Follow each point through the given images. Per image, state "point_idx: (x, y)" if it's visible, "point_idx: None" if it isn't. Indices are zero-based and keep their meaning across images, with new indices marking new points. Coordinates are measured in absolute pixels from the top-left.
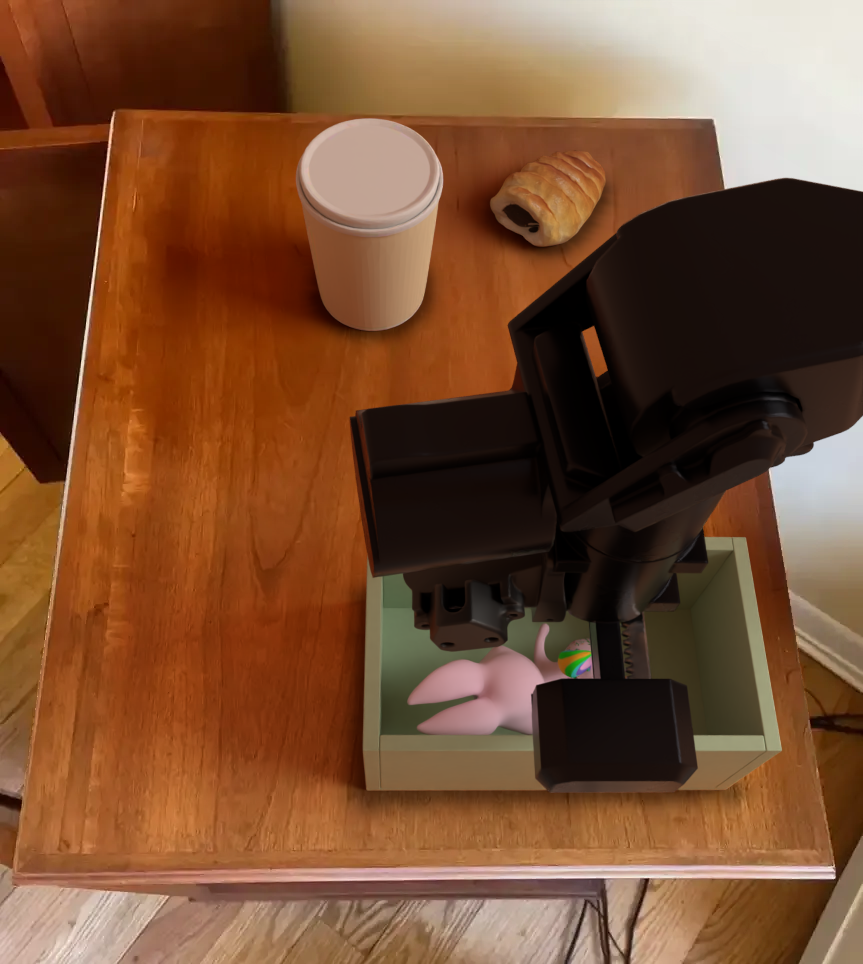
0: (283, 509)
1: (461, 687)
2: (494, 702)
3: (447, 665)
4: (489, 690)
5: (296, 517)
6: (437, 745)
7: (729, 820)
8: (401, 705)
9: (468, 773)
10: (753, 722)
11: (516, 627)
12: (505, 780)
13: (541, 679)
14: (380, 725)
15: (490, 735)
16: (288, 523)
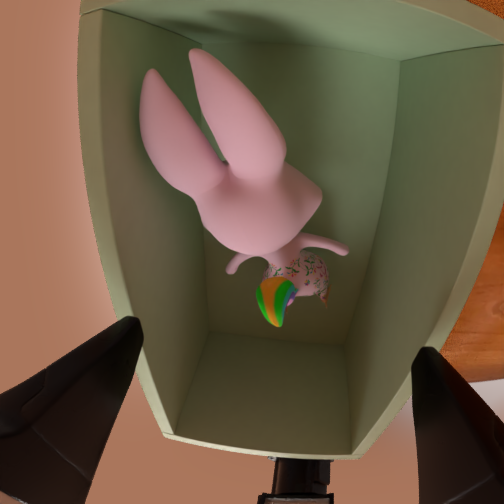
0: (496, 4)
1: (224, 143)
2: (211, 191)
3: (263, 120)
4: (230, 186)
5: (490, 11)
6: (85, 109)
7: None
8: (280, 64)
9: None
10: (194, 422)
11: (360, 203)
12: None
13: (256, 254)
14: (204, 23)
15: (107, 200)
16: (484, 2)
